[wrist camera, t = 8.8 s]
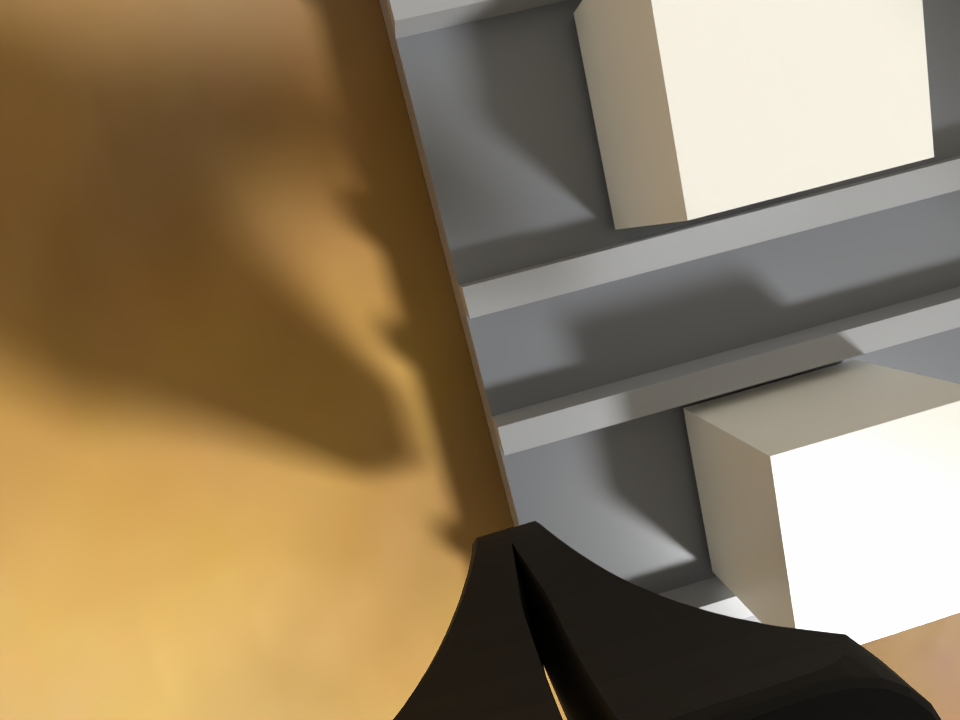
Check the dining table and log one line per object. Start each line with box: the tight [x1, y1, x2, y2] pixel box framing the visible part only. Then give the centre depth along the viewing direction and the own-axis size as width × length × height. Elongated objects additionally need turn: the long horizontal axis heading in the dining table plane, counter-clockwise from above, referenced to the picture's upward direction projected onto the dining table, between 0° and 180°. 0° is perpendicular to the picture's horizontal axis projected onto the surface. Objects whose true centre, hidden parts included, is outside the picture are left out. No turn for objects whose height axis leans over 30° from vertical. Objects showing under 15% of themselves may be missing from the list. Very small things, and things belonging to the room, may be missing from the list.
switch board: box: [379, 0, 960, 623], centre depth 13 cm, size 20×17×3 cm
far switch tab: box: [683, 359, 960, 645], centre depth 11 cm, size 4×4×3 cm
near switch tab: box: [574, 0, 934, 230], centre depth 10 cm, size 4×4×3 cm
